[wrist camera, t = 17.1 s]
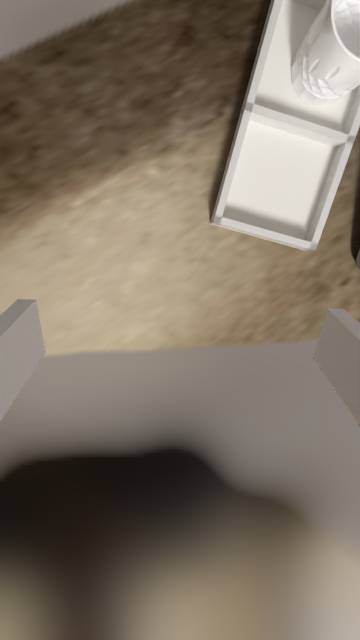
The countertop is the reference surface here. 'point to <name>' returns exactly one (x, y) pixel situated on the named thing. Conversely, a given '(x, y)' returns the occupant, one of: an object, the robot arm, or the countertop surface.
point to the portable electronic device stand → (358, 255)
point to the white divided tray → (285, 142)
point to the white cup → (329, 54)
